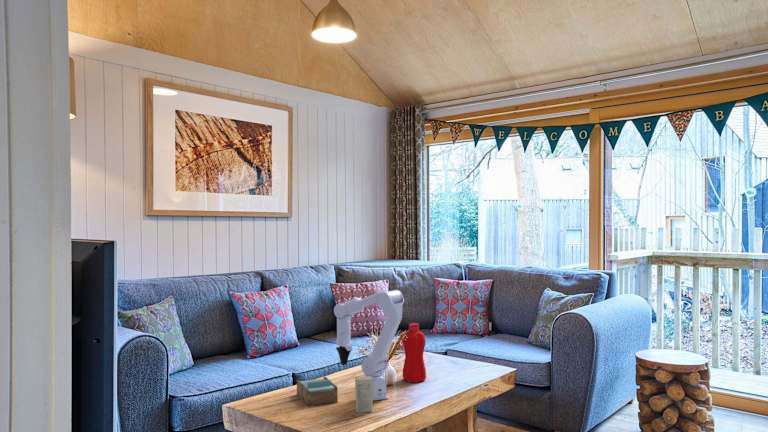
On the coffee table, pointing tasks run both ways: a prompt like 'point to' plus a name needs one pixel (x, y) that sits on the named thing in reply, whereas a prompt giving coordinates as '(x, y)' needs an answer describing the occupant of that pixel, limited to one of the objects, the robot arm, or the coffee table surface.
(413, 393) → the coffee table surface
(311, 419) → the coffee table surface
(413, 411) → the coffee table surface
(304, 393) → the box
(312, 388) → the lid
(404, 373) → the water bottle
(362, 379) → the skincare box
